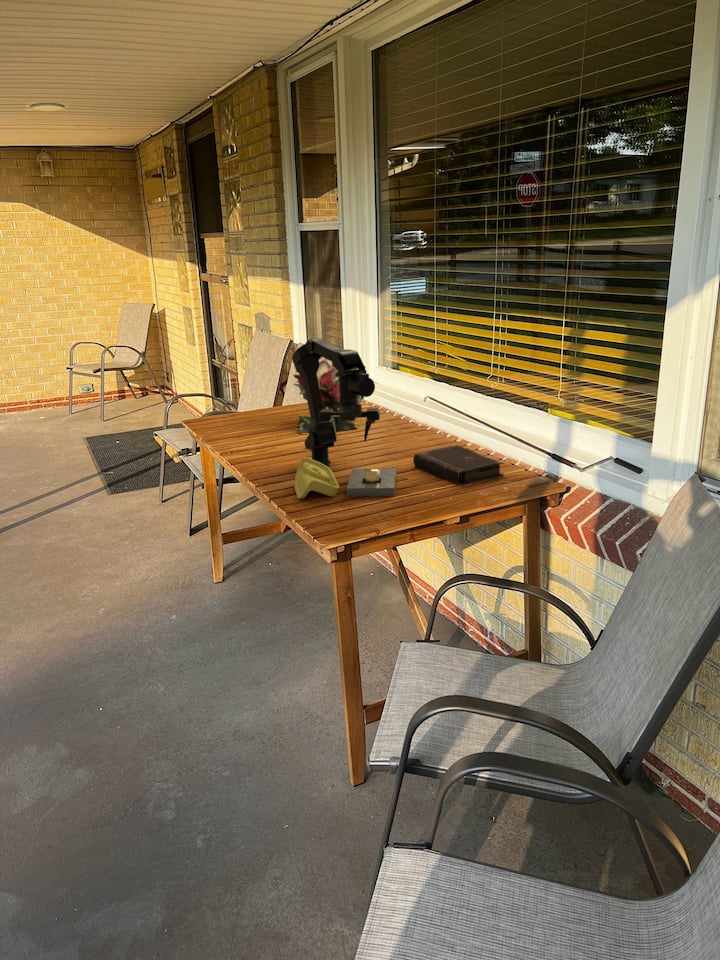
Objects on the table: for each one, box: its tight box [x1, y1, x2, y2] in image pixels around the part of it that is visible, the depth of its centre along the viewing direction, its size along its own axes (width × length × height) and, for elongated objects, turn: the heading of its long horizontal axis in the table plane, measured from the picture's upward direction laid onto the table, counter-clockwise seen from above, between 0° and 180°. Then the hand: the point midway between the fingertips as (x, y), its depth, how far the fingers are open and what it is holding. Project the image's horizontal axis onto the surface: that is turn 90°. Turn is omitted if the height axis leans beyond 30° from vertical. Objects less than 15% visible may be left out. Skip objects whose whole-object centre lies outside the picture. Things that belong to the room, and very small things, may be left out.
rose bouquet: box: [293, 357, 362, 434], centre depth 297 cm, size 26×29×30 cm
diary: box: [412, 445, 505, 486], centre depth 234 cm, size 19×25×5 cm
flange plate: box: [346, 467, 397, 497], centre depth 223 cm, size 20×14×3 cm
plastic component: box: [293, 456, 340, 500], centre depth 222 cm, size 20×8×10 cm
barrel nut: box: [364, 467, 379, 484], centre depth 219 cm, size 4×4×6 cm
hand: (350, 441), depth 228 cm, fingers open, 9 cm apart
